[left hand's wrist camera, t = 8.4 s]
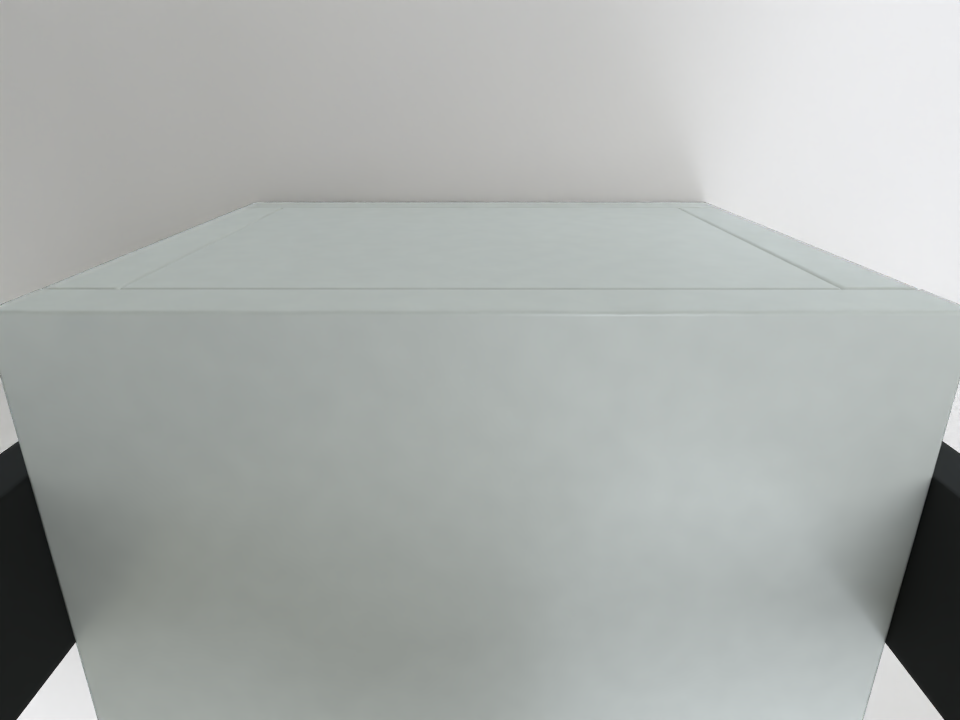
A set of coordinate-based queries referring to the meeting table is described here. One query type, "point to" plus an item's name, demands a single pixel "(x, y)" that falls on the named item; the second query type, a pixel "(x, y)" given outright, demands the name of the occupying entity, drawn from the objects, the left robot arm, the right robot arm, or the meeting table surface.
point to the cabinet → (480, 463)
